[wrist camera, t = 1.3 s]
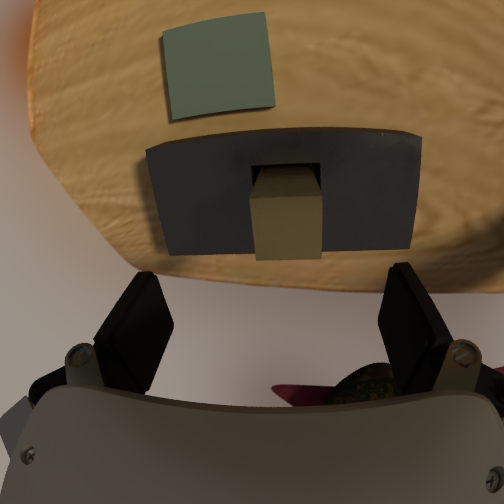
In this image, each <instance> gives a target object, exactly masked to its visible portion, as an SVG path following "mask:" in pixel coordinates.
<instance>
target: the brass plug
mask: <svg viewBox="0 0 504 504" xmlns="http://www.w3.org/2000/svg"><path fill="white" fill-rule="evenodd" d="M249 200H250V210H251V219H252V228H253V237H254V246H255V256H256V261H260V260H300V259H321V256H322V194H321V191H320V188H319V186H318V183H317V180H316V178H315V175H314V173H313V170H312V168H311V165H310V163H289V164H269V165H262V167H261V170H260V172H259V175H258V177H257V180H256V183H255V185H254V188H253V190H252V193H251V196H250V198H249Z"/></svg>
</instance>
